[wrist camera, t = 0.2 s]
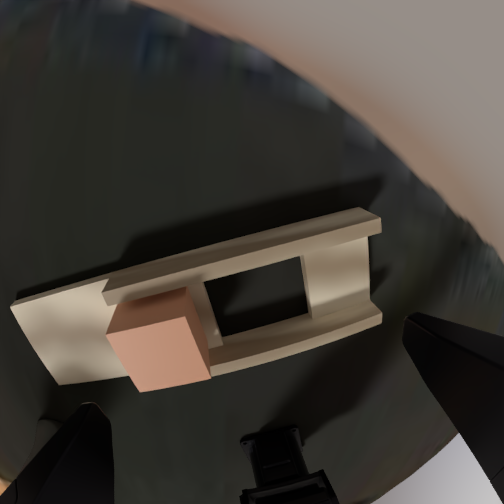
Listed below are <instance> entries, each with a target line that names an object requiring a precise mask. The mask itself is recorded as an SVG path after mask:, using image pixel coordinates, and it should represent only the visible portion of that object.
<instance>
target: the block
mask: <svg viewBox="0 0 504 504" xmlns="http://www.w3.org/2000/svg"><path fill="white" fill-rule="evenodd" d="M105 335H106V337H107V339H108V341H109V342H110V344H111V346H112V348H113V349H114V351H115V353H116V355H117V356H118V358H119V360H120V361H121V363H122V365H123V366H124V368H125V370H126V371H127V373H128V374H129V376H130V378H131V379H132V381H133V382H134V384H135V385H136V387H137V389H138V390H139V392H145V391H151V390H157V389H162V388H168V387H173V386H178V385H183V384H188V383H193V382H198V381H202V380H207V379H211V372H210V361H209V351H208V341H207V338H206V335H205V333H204V330H203V328H202V325H201V322H200V320H199V317H198V314H197V312H196V309H195V306H194V303H193V301H192V298H191V295H190V292H189V289H188V286H186V287H182V288H178V289H174V290H170V291H166V292H163V293H159V294H155V295H151V296H147V297H143V298H139V299H135V300H131V301H127V302H123V303H119V304H117V306H116V309H115V311H114V314H113V316H112V319H111V321H110V324H109V326H108V329H107V332H106V334H105Z"/></svg>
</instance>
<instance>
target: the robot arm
mask: <svg viewBox="0 0 504 504" xmlns="http://www.w3.org/2000/svg"><path fill="white" fill-rule="evenodd" d="M402 341H403V345H404V347H405V349H406V350H407V352H408V354H409V355H410V357H411V359H412V361H413V362H414V364H415V366H416V368H417V370H418V371H419V373H420V375H421V377H422V379H423V380H424V382H425V384H426V385H427V387H428V388H429V390H430V391H431V392H432V394H433V395H434V397H435V398H436V399H437V401H438V402H439V404H440V405H441V407H442V408H443V410H444V411H445V412H446V414H447V415H448V417H449V418H450V420H451V421H452V423H453V424H454V426H455V427H456V429H457V430H458V432H459V433H460V435H461V436H462V438H463V439H464V441H465V442H466V444H467V445H468V447H469V448H470V450H471V452H472V453H473V455H474V456H475V458H476V459H477V461H478V462H479V464H480V466H481V467H482V469H483V471H484V472H485V474H486V476H487V477H488V479H489V480H490V483H491V484H492V486H493V488H494V489H495V491H496V492H497V494H498V496H499V498H500V500H501V501H502V503H503V504H504V337H503V336H499V335H496V334H492V333H489V332H485V331H482V330H478V329H475V328H471V327H468V326H464V325H461V324H458V323H454V322H451V321H447V320H444V319H440V318H437V317H433V316H430V315H427V314H423V313H420V312H415V313H412V314H410V315H408V316H406V317H405V319H404V324H403V336H402ZM240 445H241V447H242V448H243V450H244V452H245V454H246V456H247V458H248V459H249V461H250V463H251V465H252V469H253V473H254V477H255V482H256V486H257V488H253V489H244V490H242V493H243V494H242V495H241V496H239V497H240V502H241V504H339V502H338V499H337V496H336V494H335V492H334V490H333V488H332V486H331V484H330V482H329V480H328V478H327V476H326V474H325V472H324V470H323V469H322V470H319V471H318V472H315V473H312V474H309V472H308V470H307V467H306V464H305V461H304V459H303V456H302V453H301V452H302V451H303V449H302V444H301V439H300V435H299V430H298V427H297V426H296V425H294V426H290V427H287V428H283V429H280V430H276V431H272V432H269V433H265V434H261V435H257V436H253V437H249V438H245V439H241V440H240ZM0 504H114V460H113V447H112V430H111V423H110V421H109V419H108V417H107V416H106V415H105V414H104V412H103V411H102V410H101V409H100V407H99V406H98V405H97V404H96V403H94V402H87V403H82V404H81V405H80V406H79V407H78V408H77V409H76V410H75V412H74V413H73V414H72V415H71V416H70V417H69V418H68V419H67V420H66V422H65V423H64V424H63V425H62V426H61V427H60V428H59V429H58V430H57V432H56V433H55V434H54V435H53V436H52V437H51V438H50V440H49V441H48V442H47V443H46V444H45V445H44V446H43V447H42V449H41V450H40V451H39V452H38V453H37V454H36V455H35V457H34V458H33V459H32V460H31V461H30V462H29V463H28V465H27V466H26V467H25V468H24V469H23V470H22V472H21V473H20V474H19V475H18V476H17V478H16V479H15V480H14V481H13V482H12V483H11V484H10V486H9V487H8V488H7V489H6V490H5V491H4V492H3V493H2V495H1V496H0Z"/></svg>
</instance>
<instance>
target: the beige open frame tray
mask: <svg viewBox="0 0 504 504" xmlns="http://www.w3.org/2000/svg"><path fill="white" fill-rule="evenodd" d="M378 233H381V218H380V217H378V216H376V215H374V214H372V213H370V212H368V211H366V210H364V209H362V208H360V207H356V208H352V209H348V210H344V211H340V212H336V213H332V214H328V215H324V216H320V217H316V218H312V219H308V220H304V221H300V222H297V223H293V224H289V225H285V226H281V227H277V228H273V229H269V230H266V231H262V232H258V233H254V234H250V235H246V236H243V237H239V238H235V239H231V240H228V241H224V242H220V243H216V244H213V245H209V246H205V247H201V248H198V249H194V250H190V251H187V252H183V253H179V254H176V255H172V256H168V257H165V258H161V259H158V260H154V261H150V262H147V263H143V264H140V265H136V266H132V267H129V268H125V269H122V270H118V271H115V272H111V273H108V274H104V275H101V276H97V277H94V278H90V279H87V280H84V281H80V282H77V283H73V284H70V285H66V286H63V287H60V288H56V289H53V290H49V291H46V292H43V293H39V294H36V295H33V296H29V297H26V298H23V299H20V300H16V301H15V302H14V303H13V304H12V305H11V306H10V308H11V310H12V312H13V314H14V316H15V317H16V319H17V321H18V323H19V325H20V326H21V328H22V330H23V331H24V333H25V335H26V337H27V338H28V340H29V341H30V343H31V345H32V346H33V348H34V349H35V351H36V353H37V354H38V356H39V357H40V359H41V360H42V362H43V363H44V365H45V366H46V368H47V369H48V370H49V372H50V373H51V375H52V376H53V377H54V379H55V380H56V382H57V383H58V384H59V385H65V384H74V383H82V382H89V381H97V380H103V379H110V378H116V377H123V376H129V374H128V373H127V371H126V370H125V368H124V366H123V365H122V363H121V361H120V360H119V358H118V356H117V355H116V353H115V351H114V349H113V348H112V346H111V344H110V342H109V341H108V339H107V337H106V335H105V334H106V332H107V329H108V326H109V324H110V321H111V319H112V316H113V314H114V311H115V309H116V306H117V304H119V303H123V302H127V301H131V300H135V299H139V298H143V297H147V296H151V295H155V294H159V293H163V292H166V291H170V290H174V289H178V288H182V287H186V286H188V289H189V292H190V295H191V298H192V301H193V303H194V306H195V309H196V312H197V314H198V317H199V320H200V322H201V325H202V328H203V330H204V333H205V335H206V338H207V341H208V351H209V361H210V372H211V377H212V376H216V375H220V374H224V373H228V372H232V371H236V370H240V369H244V368H248V367H252V366H255V365H259V364H263V363H266V362H270V361H273V360H276V359H280V358H283V357H287V356H290V355H293V354H296V353H299V352H303V351H306V350H309V349H312V348H315V347H318V346H321V345H324V344H327V343H330V342H333V341H335V340H338V339H341V338H344V337H347V336H349V335H352V334H355V333H357V332H360V331H363V330H365V329H368V328H370V327H373V326H375V325H378V324H380V323H382V312H381V311H380V310H379V309H378V308H377V307H376V306H375V305H374V304H373V303H372V302H371V301H370V280H369V253H368V236H371V235H374V234H378ZM297 256H300V259H301V265H302V272H303V278H304V285H305V292H306V299H307V306H308V313H306V314H303V315H300V316H296V317H293V318H290V319H286V320H283V321H280V322H276V323H273V324H269V325H266V326H262V327H259V328H255V329H252V330H248V331H244V332H240V333H237V334H233V335H229V336H225V337H222V336H221V333H220V330H219V327H218V324H217V321H216V318H215V315H214V312H213V309H212V306H211V303H210V300H209V297H208V294H207V291H206V288H205V285H204V282H205V281H208V280H212V279H216V278H220V277H223V276H227V275H231V274H235V273H238V272H242V271H246V270H249V269H253V268H257V267H260V266H264V265H268V264H271V263H275V262H279V261H282V260H286V259H289V258H293V257H297Z"/></svg>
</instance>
